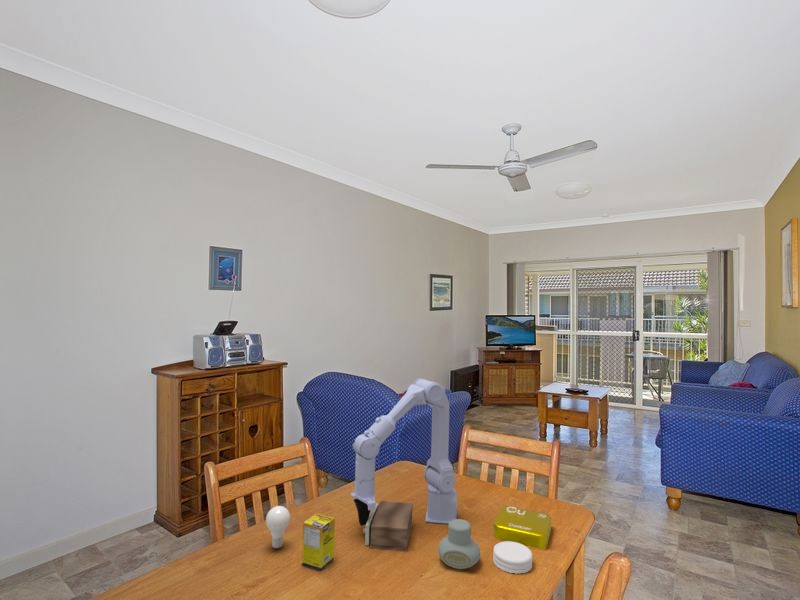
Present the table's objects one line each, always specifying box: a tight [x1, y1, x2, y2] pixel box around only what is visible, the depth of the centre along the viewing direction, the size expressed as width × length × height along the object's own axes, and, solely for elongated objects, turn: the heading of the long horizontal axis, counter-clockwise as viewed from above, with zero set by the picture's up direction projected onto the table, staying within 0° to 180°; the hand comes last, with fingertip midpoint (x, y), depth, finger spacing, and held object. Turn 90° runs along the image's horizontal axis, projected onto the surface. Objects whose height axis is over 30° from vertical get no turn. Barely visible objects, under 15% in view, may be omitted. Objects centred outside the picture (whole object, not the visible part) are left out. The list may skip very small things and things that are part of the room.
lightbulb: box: [265, 505, 291, 549], centre depth 122 cm, size 6×6×11 cm
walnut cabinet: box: [370, 500, 413, 552], centre depth 130 cm, size 10×16×6 cm, turn 173°
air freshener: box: [437, 518, 481, 570], centre depth 117 cm, size 11×8×10 cm
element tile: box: [493, 505, 552, 550], centre depth 133 cm, size 15×15×5 cm
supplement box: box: [301, 513, 336, 572], centre depth 115 cm, size 6×6×11 cm
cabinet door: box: [362, 502, 379, 546], centre depth 131 cm, size 2×15×6 cm, turn 173°
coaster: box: [492, 541, 533, 575], centre depth 117 cm, size 10×10×4 cm
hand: (363, 524), depth 129 cm, fingers closed, pressing on cabinet door
